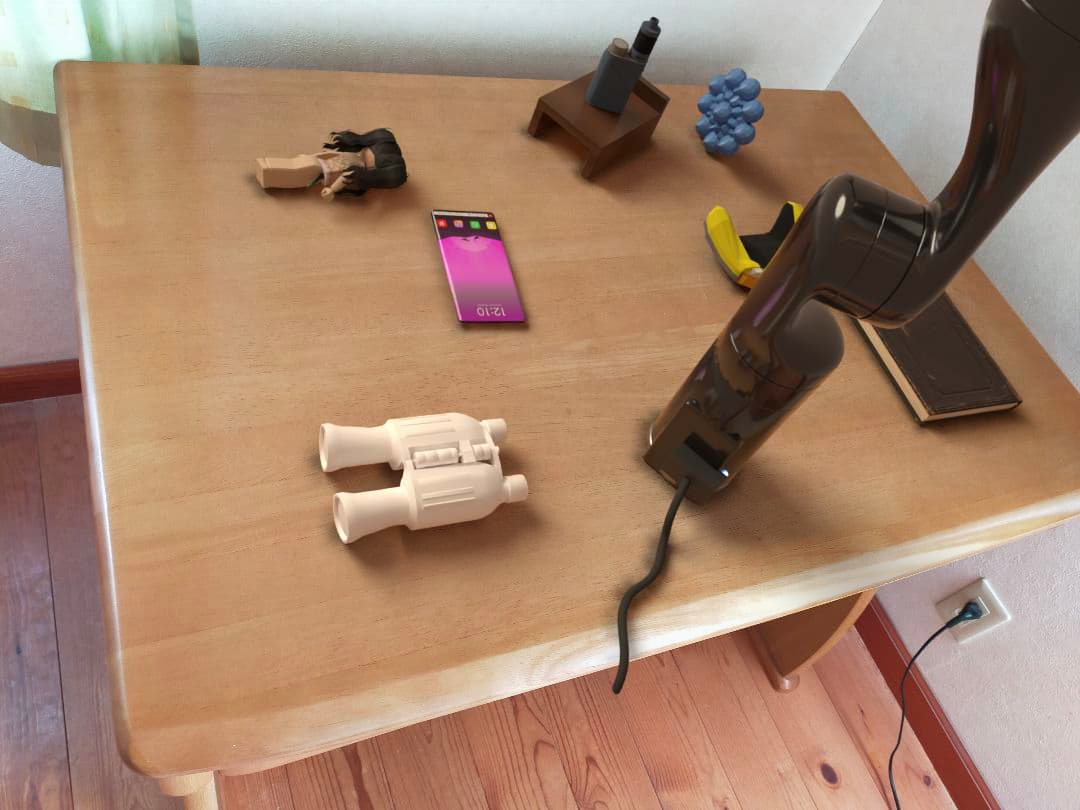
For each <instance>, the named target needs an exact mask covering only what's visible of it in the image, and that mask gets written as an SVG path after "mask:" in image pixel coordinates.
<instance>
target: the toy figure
mask: <svg viewBox="0 0 1080 810" xmlns="http://www.w3.org/2000/svg"><path fill="white" fill-rule="evenodd" d="M391 130H392V128H390V127H388V129H387V127H379V128H374V129H372V130H369V131H366V132H365V133H364V132H361V133H360V132H359V131H356V130H355V131H352V128H351V129H347V130H339V129H337V131H336V129H334V130H333V131H331V132H329V135H328V138H327V140H329V139H330V140H329V143H328V142H323V144H322V145H323V146H322V148H321V149H322V151H321V152H318V153H314V154H306V153H302V154H299V155H296V156H295V157H294V158H293V157H292V158H287V157H286V158H285V157H265V158H263V157H258V158H255V176H256V179H257V181H258V182H259V184H260V186H261V187H262V189H266V188H279V189H280V188H281V189H282V188H283V189H295V188H296V189H297V188H298V189H300V188H304V187H311V186H313V185H315V184H318V183H320V182H321V184H322V185H323V187H324V188H323V189H322V190H321V196H322V199H323V201H324V202H330V201H332V200H334V198H335V195H337V196H340V197H345V198H342V200H343V199H345V200H346V199H348V198H350V196H352V197H351V198H354V197H362V198H365V195H368V194H369V193H370V192H373V190H377V191H378V192H380V191H381V190H391V191H389V192H392V190H393V191H396V189H398V190H400V189H401V188H403V187H404V186H405V185H406V183H407V181H408V178H409V176H410V175H409V174H408V172H407V165H406V160H405V158H404V157H403V153H402V148H401V147H400V145H399V144H398V143H397V139H396V136H395V134H394V133H395V132H394V130H392V131H393V132H392V131H391ZM338 131H339V132H338ZM330 136H331V137H330ZM333 137H334V138H333ZM331 141H332V143H331ZM324 149H327V150H328V151H327V150H324ZM323 150H324V151H323ZM329 185H330V187H326V186H329ZM346 186H355V187H357V188H349V187H346ZM346 196H347V197H346Z"/></svg>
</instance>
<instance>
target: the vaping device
mask: <svg viewBox="0 0 1080 810" xmlns="http://www.w3.org/2000/svg"><path fill="white" fill-rule="evenodd" d="M659 23H660V19H659V18H658V17H655V16H651V17H650V18H649V20H644V21H642V22H641V25H640V27H639V29H638V32H637V34H636V36H635V38H634V41H633V43H632V45H631V47H630V48H629V43H628V42H627V40H624V39H623V38H620V37H614V38H613V39H612V41H611V43H610V44H609V45H608V46H607V48H605V50H603V53H602V54H601V57H600V60H599V62H598V66H597V67H596V69H595V70H596V72H595V74H594V77H593V79H592V81H591V84H590V86H589V89H588V91H587V101H588V103H589V104H590V105H592V106H594V107H597V108H601V109H604V110H608V111H611V112H615V113H620V114H621V113H622V112H623V110H624V108H625V105H626V103H627V101H628V99H629V97H630V95H631V93H632V90H633V88H634V86H635V84H636V82H637V80H638V79H639V78H640V76H643V73H644V72H645V68H646V66H647V64H648V63H649V59H650V56H651V54H652V52H653V50H654V48H655V45H656V43H657V41H658V39H659V36H660V34H661V32H662V27H660V25H659Z"/></svg>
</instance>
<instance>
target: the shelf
mask: <svg viewBox="0 0 1080 810" xmlns="http://www.w3.org/2000/svg"><path fill="white" fill-rule="evenodd" d="M595 72H596V69H595V70H592V71H590V72H588V73H587V74H584V75H582V76H580V77H578V78H576V79H574V80H572V81H570V82H568V83H566V84H564V85H562V86H560V87H557V88H555V89H554V90H552V91H549V92H548V93H546V94H544V95H540V96H539V97H538V99H537V102H536V105H535V108H534V111H533V113H532V116H531V118H530V121H529V124H528V127H527V129H526V132H527V133H528V134H530V135H531V136H532V137H536V136H538V135H540V134H542V133H543V132H546V131H548V130H549V129H552V128H553V127H555V126H557V125H559V126H561V127H562V128H563V129H565V130H566V131H567V132H568V133H569V134H571V135H572V136H573V137H574V138H576V139H577V140H578V141H580V142H581V143H582V144H583V145H585V146H586V147H587V148H588V149H589V150H590V152H589V153H588V156H587V158H586V159H585V163H584V165H583V167H582V169H581V171H580V176H581V177H582V178H584V179H585V180H586V181H588V180H590V179H592V178H593V177H595V176H596V175H599V174H600V173H602V172H603V171H605V170H606V169H608V168H609V167H611V166H613V165H615V164H616V163H617V162H619V161H621V160H622V159H624V158H626V157H627V156H629V155H630V154H632V153H633V152H636V151H637V150H638V149H640V148H643V146H645V145H648V144H649V142H650V139H651V137H652V136H653V134H654V132H655V130H656V128H657V126H658V124H659V122H660V120H661V118H662V116H663V115H664V113H665V110H666V108H667V106H668V104H669V102H670V101H671V97H669V95H667V94H666V93H664V91H662V90H660V89H659V88H658V87H657V86H656V85H654V84H653V83H651V82H650V81H649V80H648V79H646V78H645V77H643V75H641V76H640V78H639V79H638V80H637V82H636V84H635V86H634V88H633V90H632V93H631V95H630V97H629V99H628V101H627V103H626V105H625V108H624V110H623V112H622V113H621V114H620V113H615V112H611V111H608V110H604V109H601V108H597V107H594V106H592V105H590V104H589V103H588V101H587V91H588V89H589V86H590V84H591V81H592V79H593V77H594V74H595Z"/></svg>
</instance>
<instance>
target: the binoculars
mask: <svg viewBox="0 0 1080 810" xmlns="http://www.w3.org/2000/svg"><path fill="white" fill-rule="evenodd" d="M318 435H319V438H318V448H319V449H318V450H319V458H320V464H321V469H322V471H323V472H324V473H332V472H335V471H338V470H340V469H343V468H351V467H358V466H364V465H365V466H366V465H374V464H382V463H388V464H389V466H390V468H391V470H393V471H400V470H403V472H402V473H403V474H402V478H401V480H400V483H399V486H396V487H390V488H389V487H388V488H383V489H376V490H369V491H361V492H353V493H352V492H345V491H341V492H337V493H335V494H334V495H333V496H332V497H333V498H332V515H333V520H334V524H335V527H336V531H337V534H338V536H339V538H340V541H341V542H342V543H343V544H351V543H354V542H356V541H358V540H359V539H360V538H362V537H364V536H368V535H370V534H373V533H377V532H379V531H382V530H384V529H388V528H389V527H393V526H406V527H407V528H408V529H409V531H416V530H423V529H429V528H434V527H439V526H440V527H441V526H446V525H447V526H448V525H451V524H458V523H459V524H460V523H465V522H470V521H476V520H481V519H482V518H485V517H487V516H488V515H491V514H492V513H493V512H494V511H495V510H496V509H497V508H498V507H499V506H500V505H501V504H503V503H505V504H511V503H515V502H522V501H525V500H527V498H528V495H529V485H528V482H527V479H526V477H525V476H524V475H523V474H521V473H520V474H512V475H504V476H503V470H502V465H501V461H500V457H499V454H500V448H499V446H498V445H503V444H505V443H506V442H507V440H508V427H507V424H506V421H505V420H504V419H503V417H500V418H490V419H482V421H478V420H477V419H476V418H475V417H472V416H470V415H468V414H466V413H459V412H446V413H437V414H427V415H418V416H417V415H416V416H410V417H409V416H408V417H400V418H391V419H387V421H386V422H385V423H384V424H382V425H379V426H374V427H364V426H363V427H362V426H349V425H348V426H346V425H337V424H335V423H329V422H325V423H321V425H320V428H319V434H318ZM487 460H489V462H490V464H489V463H485V462H481V461H487Z"/></svg>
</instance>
